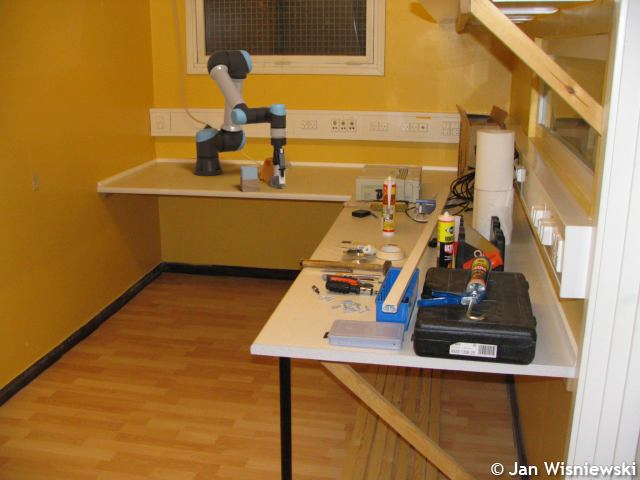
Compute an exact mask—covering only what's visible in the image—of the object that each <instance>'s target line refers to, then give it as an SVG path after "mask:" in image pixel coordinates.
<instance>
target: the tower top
mask: <svg viewBox="0 0 640 480" xmlns="http://www.w3.org/2000/svg"><path fill="white" fill-rule="evenodd" d="M240 177H241V178H242V179H243V180H247V179H258V178H259V177H258V167H257V166H256V165H244V166H240Z"/></svg>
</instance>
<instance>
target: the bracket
mask: <svg viewBox="0 0 640 480" xmlns="http://www.w3.org/2000/svg"><path fill="white" fill-rule="evenodd" d="M272 176H274V165H273V156H272V157H268V158H265V159H264V162H263V165H262V168H261V171H260V175H259V177H260V178H259V180H264V182H268V183H270V177H272Z"/></svg>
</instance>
